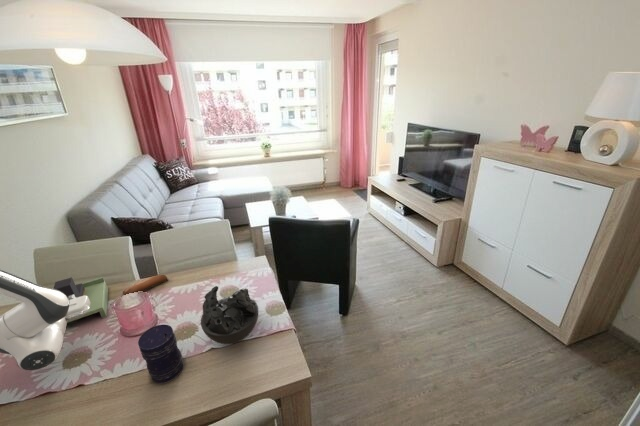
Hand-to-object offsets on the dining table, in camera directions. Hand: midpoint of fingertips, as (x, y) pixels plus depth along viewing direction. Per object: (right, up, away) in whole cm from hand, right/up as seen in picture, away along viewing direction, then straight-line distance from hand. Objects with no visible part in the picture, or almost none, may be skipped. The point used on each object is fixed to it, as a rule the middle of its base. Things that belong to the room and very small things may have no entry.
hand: (55, 301), depth 103 cm
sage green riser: (-8, -10, +21) cm, 24 cm away
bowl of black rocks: (+62, -14, +5) cm, 64 cm away
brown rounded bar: (+12, -4, +34) cm, 36 cm away
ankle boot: (-9, -6, +19) cm, 22 cm away
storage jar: (+44, -20, -7) cm, 49 cm away
